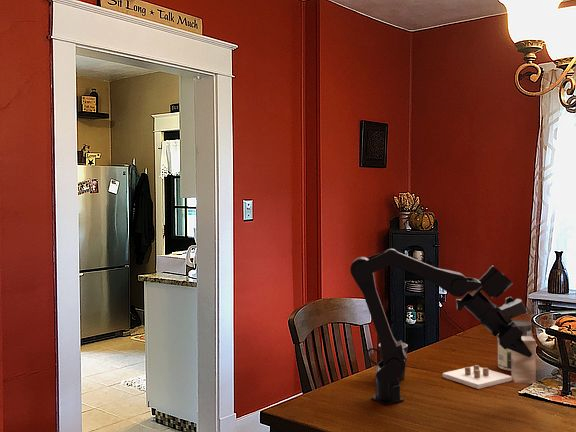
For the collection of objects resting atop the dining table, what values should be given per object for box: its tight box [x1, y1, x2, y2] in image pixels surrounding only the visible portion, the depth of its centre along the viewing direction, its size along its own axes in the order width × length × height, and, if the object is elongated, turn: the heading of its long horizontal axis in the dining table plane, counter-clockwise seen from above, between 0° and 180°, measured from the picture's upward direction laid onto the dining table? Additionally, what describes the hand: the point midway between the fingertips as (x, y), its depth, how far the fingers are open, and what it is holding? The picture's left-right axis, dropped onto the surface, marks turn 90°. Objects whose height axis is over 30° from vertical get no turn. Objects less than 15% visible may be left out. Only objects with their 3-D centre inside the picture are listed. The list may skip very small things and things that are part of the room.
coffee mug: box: [366, 342, 409, 382], centre depth 192 cm, size 12×9×10 cm
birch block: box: [510, 336, 537, 384], centre depth 165 cm, size 5×5×11 cm
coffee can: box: [497, 319, 533, 372], centre depth 199 cm, size 10×10×14 cm
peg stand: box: [442, 364, 513, 390], centre depth 188 cm, size 14×14×3 cm
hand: (528, 353), depth 165 cm, fingers closed on birch block, 5 cm apart
